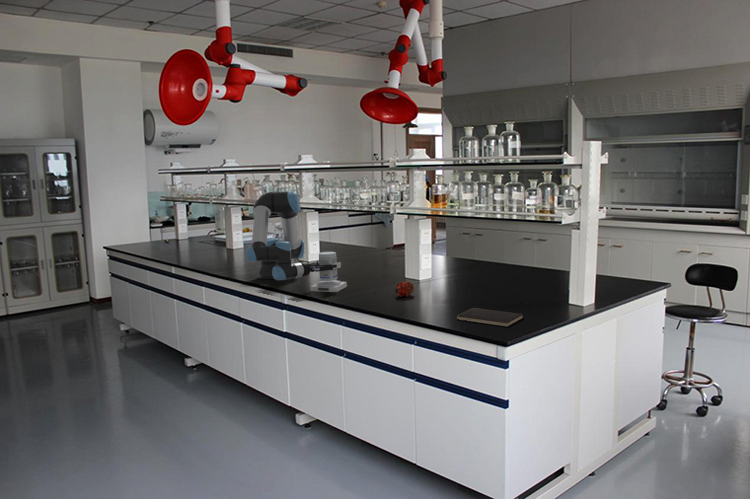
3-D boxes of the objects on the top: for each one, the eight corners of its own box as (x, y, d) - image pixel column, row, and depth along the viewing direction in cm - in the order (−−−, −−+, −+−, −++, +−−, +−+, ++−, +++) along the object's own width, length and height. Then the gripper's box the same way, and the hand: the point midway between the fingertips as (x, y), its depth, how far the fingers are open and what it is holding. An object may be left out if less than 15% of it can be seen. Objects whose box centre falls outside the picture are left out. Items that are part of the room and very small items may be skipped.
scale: (321, 285, 330) (321, 279, 330) (346, 286, 325) (346, 280, 325) (310, 291, 316) (310, 284, 315) (336, 292, 311) (336, 285, 311)
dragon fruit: (415, 297, 300) (397, 304, 293) (405, 286, 304) (387, 293, 297) (420, 286, 294) (402, 293, 287) (410, 274, 299) (392, 281, 292)
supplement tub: (333, 277, 326) (331, 251, 324) (340, 279, 318) (339, 252, 316) (316, 279, 322) (315, 252, 320) (324, 282, 314) (322, 254, 312)
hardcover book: (507, 328, 235) (507, 322, 235) (456, 320, 249) (456, 315, 248) (523, 319, 248) (523, 313, 247) (473, 312, 261) (473, 307, 261)
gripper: (289, 274, 316) (322, 268, 331) (313, 279, 299) (347, 273, 314) (288, 260, 315) (322, 255, 330) (312, 264, 298) (347, 259, 313)
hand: (334, 264), depth 322 cm, fingers closed on supplement tub, 9 cm apart
